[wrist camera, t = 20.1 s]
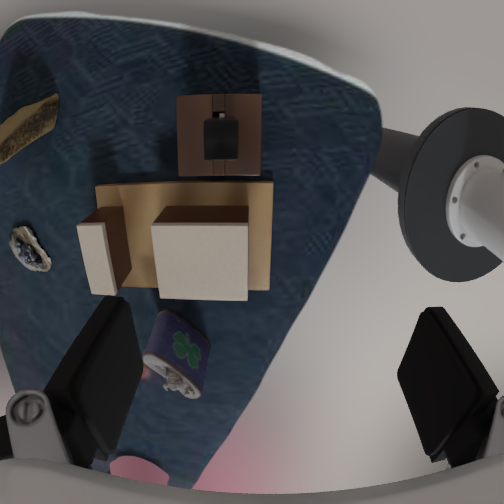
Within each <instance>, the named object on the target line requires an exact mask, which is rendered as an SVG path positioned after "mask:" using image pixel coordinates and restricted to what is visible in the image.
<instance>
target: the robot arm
mask: <svg viewBox="0 0 504 504" xmlns="http://www.w3.org/2000/svg"><path fill="white" fill-rule="evenodd" d="M445 209H446V219H447V223H448V226H449V228H450V231H451V232H452V234H453V235H454V237H455V238H456V239H458V240H459V241H460V242H461V243H463V244H464V245H466V246H470V247H480V246H485V247H486V248H487V249H488V250H490V251H491V252H492V253H493V254H495V255H496V256H497V257H498V258H499V259H501V260H502V261H503V262H504V163H503V162H502V161H500V160H499V159H497V158H495V157H492V156H488V155H478V156H475V157H472V158H471V159H469V160H467V161H466V162H465V163H464V164H463V165H462V166H461V167H460V168H459V169H458V171H457V172H456V173H455V175H454V177H453V179H452V181H451V183H450V186H449V189H448V193H447V198H446V208H445ZM142 373H143V361H142V357H141V353H140V348H139V344H138V340H137V336H136V331H135V327H134V322H133V317H132V312H131V307H130V304H129V303H128V302H125V300H124V298H123V297H116V296H105V297H104V298H103V300H102V301H101V302H100V304H99V305H98V307H97V308H96V310H95V311H94V313H93V314H92V316H91V317H90V318H89V320H88V321H87V323H86V324H85V326H84V327H83V329H82V330H81V332H80V334H79V335H78V336H77V337H76V339H75V340H74V342H73V343H72V345H71V347H70V348H69V350H68V351H67V353H66V354H65V356H64V358H63V359H62V361H61V362H60V364H59V366H58V367H57V369H56V371H55V372H54V374H53V375H52V377H51V379H50V380H49V382H48V384H47V386H46V387H45V389H44V391H43V392H42V391H40V390H37V389H24V390H22V391H19V392H17V393H16V394H15V395H14V396H12V397H11V399H10V400H9V401H8V404H7V406H6V415H4V416H1V417H0V504H504V396H502V397H501V398H500V399H499V400H497V398H496V395H497V394H498V392H499V390H498V389H497V387H496V385H495V384H494V382H493V381H492V379H491V377H490V376H489V374H488V372H487V371H486V369H485V367H484V366H483V364H482V363H481V361H480V360H479V358H478V357H477V355H476V354H475V352H474V350H473V349H472V347H471V346H470V345H469V343H468V342H467V340H466V339H465V337H464V336H463V334H462V333H461V331H460V330H459V328H458V327H457V326H456V324H455V323H454V322H453V320H452V318H451V317H450V316H449V314H448V313H447V312H446V310H445V309H444V308H443V307H428V308H426V309H425V311H424V312H422V313H421V314H420V316H419V319H418V321H417V324H416V327H415V329H414V332H413V334H412V337H411V340H410V342H409V345H408V347H407V349H406V352H405V354H404V357H403V359H402V361H401V364H400V366H399V368H398V372H397V377H398V381H399V383H400V386H401V388H402V391H403V394H404V396H405V399H406V401H407V404H408V407H409V409H410V412H411V415H412V417H413V420H414V423H415V426H416V428H417V431H418V434H419V437H420V440H421V443H422V446H423V449H424V452H425V454H426V455H428V456H430V459H431V462H432V463H433V462H437V461H441V460H445V459H446V458H447V460H448V465H447V468H446V470H444V471H440V472H436V473H432V474H429V475H425V476H421V477H417V478H412V479H408V480H403V481H398V482H394V483H388V484H382V485H377V486H370V487H363V488H357V489H349V490H340V491H330V492H319V493H318V492H317V493H301V494H241V493H225V492H212V491H201V490H193V489H185V488H178V487H171V486H165V485H159V484H153V483H148V482H142V481H138V480H133V479H128V478H123V477H119V476H114V475H110V474H106V473H102V472H99V471H95V470H93V469H92V467H91V464H92V462H93V459H94V458H96V459H100V460H104V461H107V459H108V456H109V453H110V454H113V453H114V452H115V449H116V446H117V443H118V440H119V437H120V435H121V432H122V429H123V426H124V423H125V420H126V417H127V414H128V412H129V409H130V406H131V403H132V400H133V398H134V395H135V392H136V389H137V387H138V384H139V381H140V379H141V376H142Z"/></svg>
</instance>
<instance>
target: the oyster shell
mask: <svg viewBox="0 0 504 504" xmlns="http://www.w3.org/2000/svg"><path fill="white" fill-rule="evenodd" d="M13 233H14V234H12V235H11V237H12V239H13V240H12V241H10V242H8V243H9V244H10V246H11V248H12V251H13V253H14V254H15V256H16V257H17V258H18V259H19V261H20V262H21V263H22V264H23V265H24V266H25V267H27V268H28V269H30V270H34V271H35V272H36V271H37V270H38V271H44V272H47V271H49V270H50V268H51V265H52V263H51V259H50V257H47V255H46V252H45V251H44V250H43V249H41V248H40V247H39V246H40V245H38V243H37V241H36V240H37V239H36V237H35V238H34V235H33V233H32V230H30V227H27V226H24V227H23V226H21V227H19V228H18V229H17V228H14V230H13Z"/></svg>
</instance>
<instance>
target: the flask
mask: <svg viewBox="0 0 504 504" xmlns="http://www.w3.org/2000/svg"><path fill="white" fill-rule="evenodd" d="M209 350H210V344H209V343H208V341H207V340H206V339H205V338H204V336H203V335H201V333H200V332H199V331H198V330H197V329H196V328H194V327H193V326H192V325H191V324H190V323H188V322H187V321H186V320H185V319H183V318H182V317H181V316H179V315H178V314H177V313H176V312H173V311H171V310H169V309H163V311H160V312H159V314H158V316H157V319H156V322H155V325H154V327H153V329H152V332H151V336H150V338H149V341H148V343H147V346H146V348H145V350H144V352H143V356H142V361H143V362H144V364H145V365H147V366H148V367H150V368H151V369H153V370H154V371H156V372H157V373H159V374H160V375H162V376H163V377H164V378H166V379H167V384H164V385H163V387H164V388H165V390H166V391H168V389H167V388H168V387H169V388H170V389H171V390H172V391H176V390H179V391H180V392H181V393H182V394H183V395H184V396H186V397H188V398H191V399H197V398H199V397H200V396H201V395H202V390H203V384H204V378H205V371H206V366H207V361H208V355H209Z"/></svg>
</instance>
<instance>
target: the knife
mask: <svg viewBox="0 0 504 504" xmlns="http://www.w3.org/2000/svg"><path fill="white" fill-rule="evenodd" d="M214 160H238V120H237V119H236V118H235V117H225V112H221V113H220V114H219V117H210V118H208V119H206V120H205V121H204V161H214Z"/></svg>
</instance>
